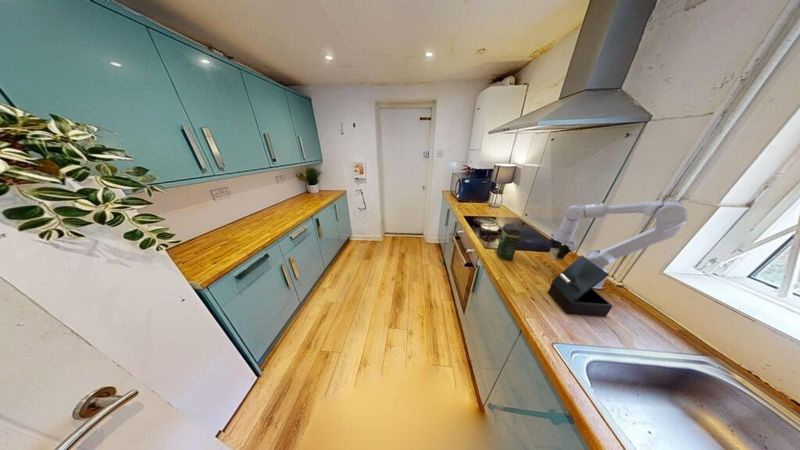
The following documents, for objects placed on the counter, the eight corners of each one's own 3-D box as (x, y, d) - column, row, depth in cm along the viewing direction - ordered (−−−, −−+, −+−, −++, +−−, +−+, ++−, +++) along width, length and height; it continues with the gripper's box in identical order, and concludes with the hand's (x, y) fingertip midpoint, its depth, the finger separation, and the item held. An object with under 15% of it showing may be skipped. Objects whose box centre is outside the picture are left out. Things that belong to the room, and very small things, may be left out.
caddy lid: (583, 255, 77) (574, 250, 76) (609, 274, 66) (599, 268, 66) (553, 281, 83) (544, 277, 82) (573, 302, 72) (563, 297, 72)
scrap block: (557, 255, 100) (560, 248, 98) (563, 260, 96) (566, 253, 94) (548, 255, 100) (551, 247, 98) (553, 260, 96) (556, 252, 94)
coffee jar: (514, 261, 106) (524, 230, 99) (499, 259, 108) (507, 228, 100) (509, 251, 115) (517, 222, 107) (494, 250, 116) (502, 221, 108)
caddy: (582, 294, 85) (587, 284, 82) (605, 316, 74) (612, 305, 72) (547, 292, 85) (552, 282, 83) (566, 314, 75) (572, 303, 72)
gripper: (548, 224, 98) (539, 247, 104) (569, 237, 85) (557, 263, 91) (563, 224, 98) (553, 248, 104) (586, 238, 85) (573, 264, 90)
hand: (556, 255), depth 97 cm, fingers closed on scrap block, 4 cm apart
